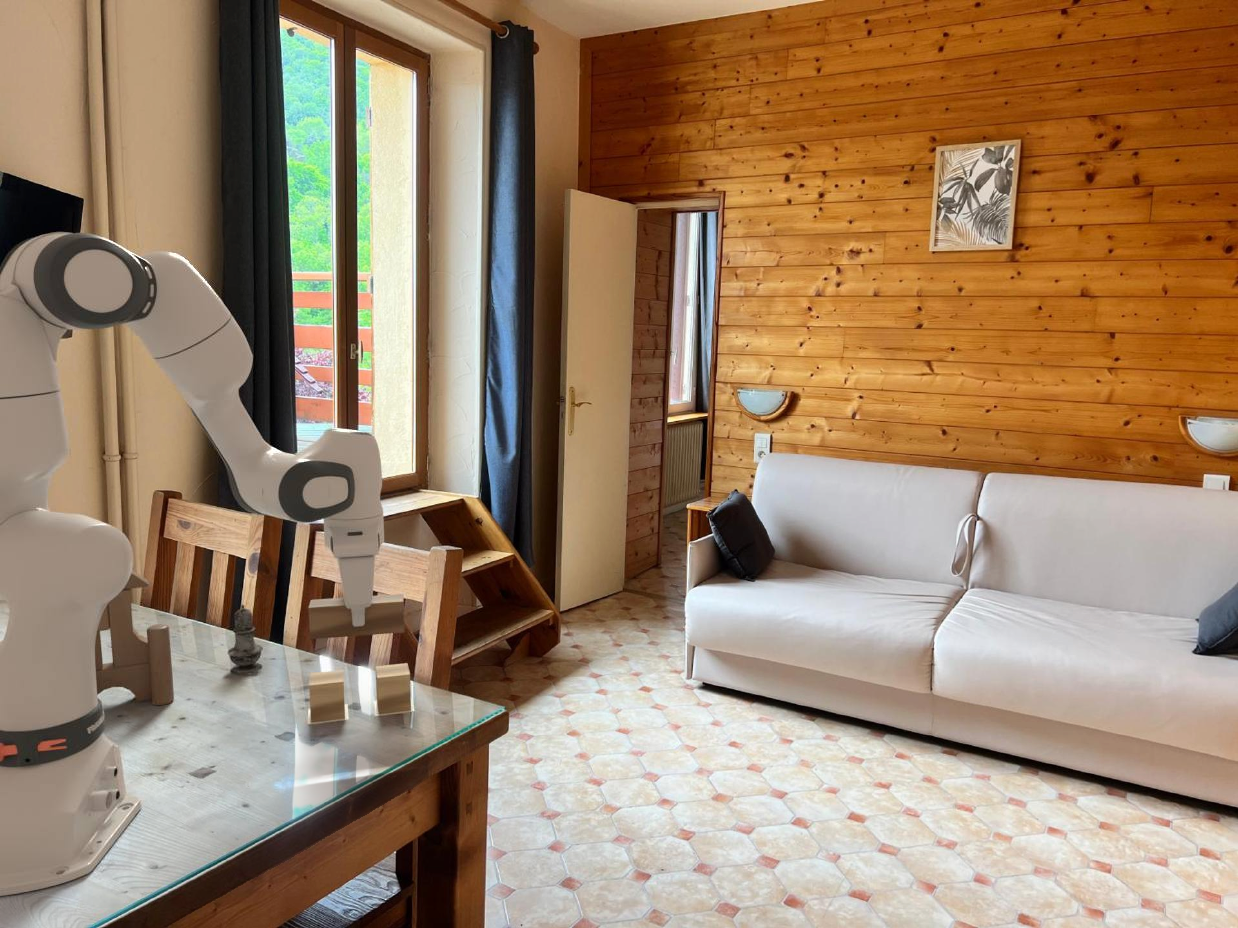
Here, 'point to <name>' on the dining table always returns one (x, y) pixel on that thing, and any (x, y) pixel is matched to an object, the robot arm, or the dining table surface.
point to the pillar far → (393, 688)
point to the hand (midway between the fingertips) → (358, 619)
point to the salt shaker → (244, 645)
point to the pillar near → (326, 696)
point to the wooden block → (337, 619)
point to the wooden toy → (134, 651)
